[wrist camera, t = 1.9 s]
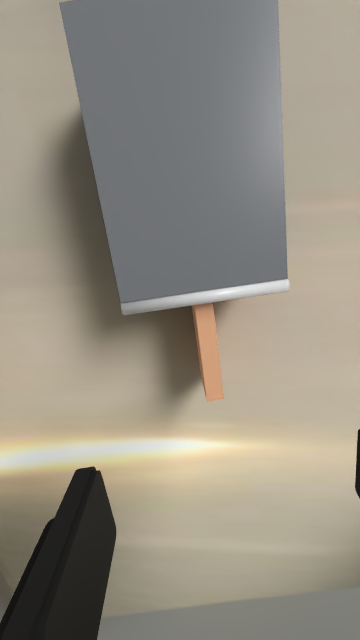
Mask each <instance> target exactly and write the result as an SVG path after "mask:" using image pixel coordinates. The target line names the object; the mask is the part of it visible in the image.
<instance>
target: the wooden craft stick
mask: <svg viewBox="0 0 360 640" xmlns="http://www.w3.org/2000/svg"><path fill="white" fill-rule="evenodd" d="M192 312H193V319H194V327H195V334H196V342H197V349H198V357H199V364H200V372H201V378H202V382H203V386H204V391H205V395H206V399H207V401H213V400H220V399H224V397H223V388H222V379H221V370H220V361H219V352H218V343H217V334H216V325H215V316H214V307H213V302H212V303H205V304H198V305H192Z"/></svg>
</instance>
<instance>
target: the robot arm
mask: <svg viewBox="0 0 360 640" xmlns="http://www.w3.org/2000/svg"><path fill="white" fill-rule="evenodd" d="M355 488H356V492H357V494H358V496H359V498H360V429H359V430H358V440H357V461H356V482H355ZM115 540H116V525H115V522H114V518H113V514H112V511H111V507H110V503H109V500H108V496H107V493H106V489H105V485H104V482H103V478H102V475H101V472H100V470H99V471H96V469H95V467H88V468H81V469H77V470H76V471H75V473H74V475H73V477H72V480H71V482H70V484H69V486H68V489H67V491H66V493H65V495H64V498H63V500H62V502H61V505H60V507H59V509H58V511H57V514H56V516H55V518H53V519H51V520H50V521H49V522H48V523H47V525H46V526H45V528H44V530H43V532H42V534H41V537H40V539H39V541H38V543H37V545H36V547H35V549H34V552H33V554H32V556H31V558H30V560H29V562H28V565H27V567H26V569H25V571H24V573H23V575H22V577H21V580H20V582H19V584H18V586H17V588H16V590H15V592H14V595H13V597H12V599H11V601H10V604H9V605H8V608H7V610H6V612H5V614H4V616H3V618H2V621H1V623H0V640H97V636H98V630H99V625H100V620H101V614H102V609H103V604H104V599H105V593H106V588H107V583H108V577H109V572H110V567H111V562H112V556H113V551H114V546H115Z"/></svg>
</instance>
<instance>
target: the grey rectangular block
mask: <svg viewBox="0 0 360 640" xmlns="http://www.w3.org/2000/svg"><path fill="white" fill-rule="evenodd" d="M59 4H60V9H61V14H62V19H63V23H64V28H65V33H66V38H67V43H68V48H69V53H70V58H71V62H72V67H73V72H74V77H75V82H76V87H77V92H78V97H79V102H80V106H81V111H82V116H83V121H84V126H85V131H86V136H87V141H88V145H89V150H90V155H91V160H92V165H93V170H94V175H95V180H96V184H97V189H98V194H99V199H100V204H101V209H102V214H103V219H104V224H105V228H106V233H107V238H108V243H109V248H110V253H111V258H112V263H113V267H114V272H115V277H116V282H117V287H118V292H119V297H120V302H121V311H122V314H123V315H130V314H136V313H143V312H150V311H157V310H164V309H171V308H178V307H185V306H191V305H198V304H205V303H212V302H219V301H226V300H233V299H239V298H246V297H253V296H260V295H267V294H274V293H281V292H287V291H288V290H289V281H288V276H287V247H286V218H285V189H284V160H283V132H282V103H281V74H280V45H279V16H278V0H74V1H67V2H61V3H59Z"/></svg>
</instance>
